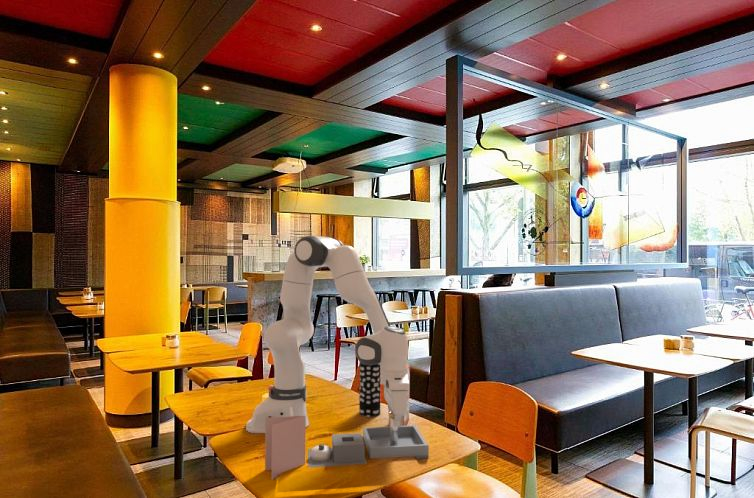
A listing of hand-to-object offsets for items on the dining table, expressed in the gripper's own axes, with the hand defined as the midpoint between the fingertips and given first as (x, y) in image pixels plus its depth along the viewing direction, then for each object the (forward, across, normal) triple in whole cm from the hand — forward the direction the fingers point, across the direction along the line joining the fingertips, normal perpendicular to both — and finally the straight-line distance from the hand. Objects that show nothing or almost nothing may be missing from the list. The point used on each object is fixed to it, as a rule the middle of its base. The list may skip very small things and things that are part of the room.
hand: (394, 421), depth 155 cm
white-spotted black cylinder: (+9, -36, -3) cm, 37 cm away
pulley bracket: (+9, +6, -19) cm, 22 cm away
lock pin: (+8, 0, 0) cm, 8 cm away
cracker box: (+9, -21, +6) cm, 24 cm away
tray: (+9, 0, 0) cm, 9 cm away
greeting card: (+9, +13, -34) cm, 38 cm away
